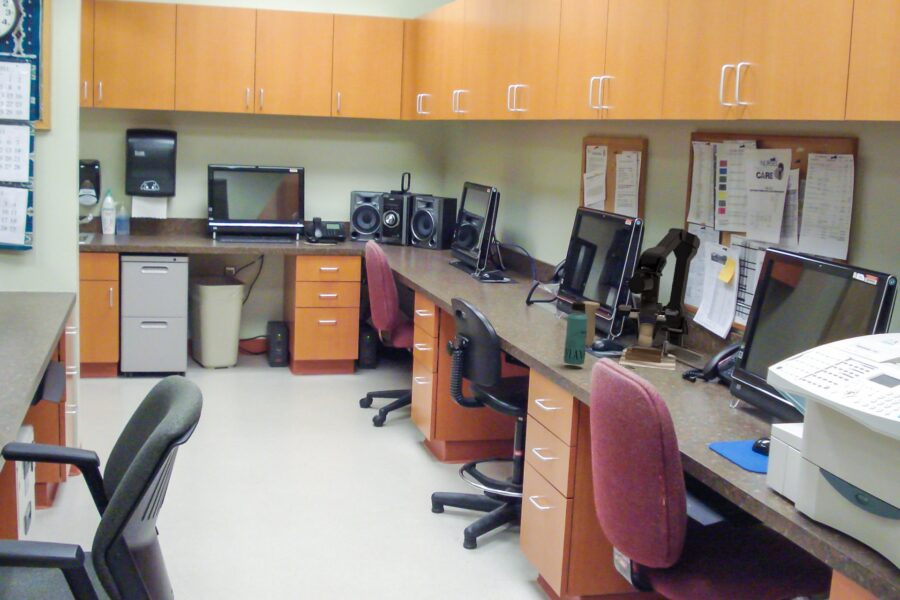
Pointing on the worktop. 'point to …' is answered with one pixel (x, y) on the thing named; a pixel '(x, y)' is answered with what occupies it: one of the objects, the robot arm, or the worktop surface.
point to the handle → (590, 320)
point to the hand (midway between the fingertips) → (645, 339)
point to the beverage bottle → (576, 336)
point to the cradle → (647, 358)
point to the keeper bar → (683, 353)
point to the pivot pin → (645, 334)
